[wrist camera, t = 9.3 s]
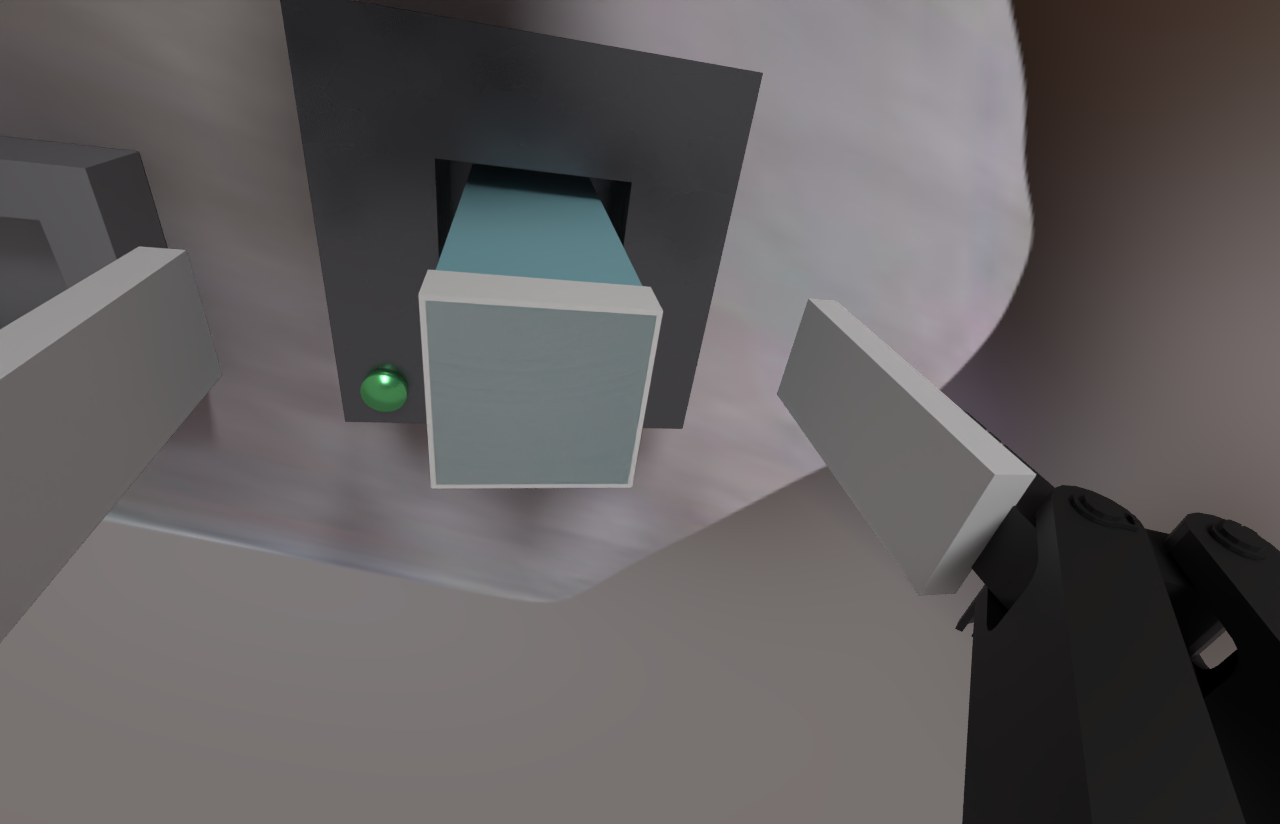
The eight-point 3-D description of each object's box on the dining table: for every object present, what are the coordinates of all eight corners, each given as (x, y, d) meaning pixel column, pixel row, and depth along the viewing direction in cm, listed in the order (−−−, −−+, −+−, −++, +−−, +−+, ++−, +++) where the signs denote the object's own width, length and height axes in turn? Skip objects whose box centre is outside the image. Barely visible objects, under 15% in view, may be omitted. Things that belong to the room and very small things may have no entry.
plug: (469, 160, 19) (418, 294, 9) (592, 175, 20) (663, 311, 10) (471, 279, 21) (430, 488, 12) (582, 288, 22) (631, 487, 13)
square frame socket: (-198, 113, 18) (-311, 127, 15) (138, 151, 20) (84, 168, 17) (-55, 365, 23) (-124, 405, 20) (204, 374, 25) (170, 412, 22)
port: (351, 1, 19) (272, -14, 13) (697, 62, 21) (767, 74, 15) (385, 332, 25) (342, 428, 19) (648, 347, 28) (684, 434, 22)
